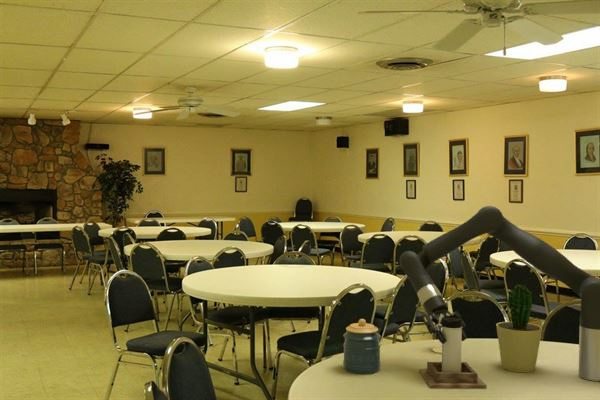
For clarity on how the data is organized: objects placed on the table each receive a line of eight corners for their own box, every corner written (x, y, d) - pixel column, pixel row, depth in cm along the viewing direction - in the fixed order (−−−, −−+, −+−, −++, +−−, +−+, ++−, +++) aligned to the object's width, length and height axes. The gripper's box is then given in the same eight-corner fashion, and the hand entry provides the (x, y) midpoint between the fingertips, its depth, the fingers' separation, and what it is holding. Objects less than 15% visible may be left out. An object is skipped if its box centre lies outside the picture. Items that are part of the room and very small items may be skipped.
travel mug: (463, 375, 212) (464, 315, 211) (457, 380, 206) (458, 319, 206) (445, 372, 215) (446, 313, 215) (438, 377, 210) (439, 316, 209)
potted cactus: (508, 359, 236) (509, 278, 235) (548, 367, 225) (550, 283, 224) (487, 367, 225) (488, 283, 224) (528, 376, 214) (530, 288, 214)
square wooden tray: (470, 371, 219) (471, 360, 219) (486, 388, 201) (486, 376, 201) (419, 371, 219) (419, 359, 219) (430, 388, 201) (430, 375, 201)
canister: (335, 369, 221) (336, 318, 221) (358, 361, 231) (358, 313, 230) (365, 377, 213) (365, 324, 212) (387, 369, 222) (388, 318, 222)
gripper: (421, 295, 213) (443, 337, 203) (453, 292, 220) (476, 332, 210) (410, 308, 218) (432, 349, 208) (442, 305, 224) (465, 344, 215)
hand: (454, 341), depth 209 cm, fingers open, 8 cm apart
